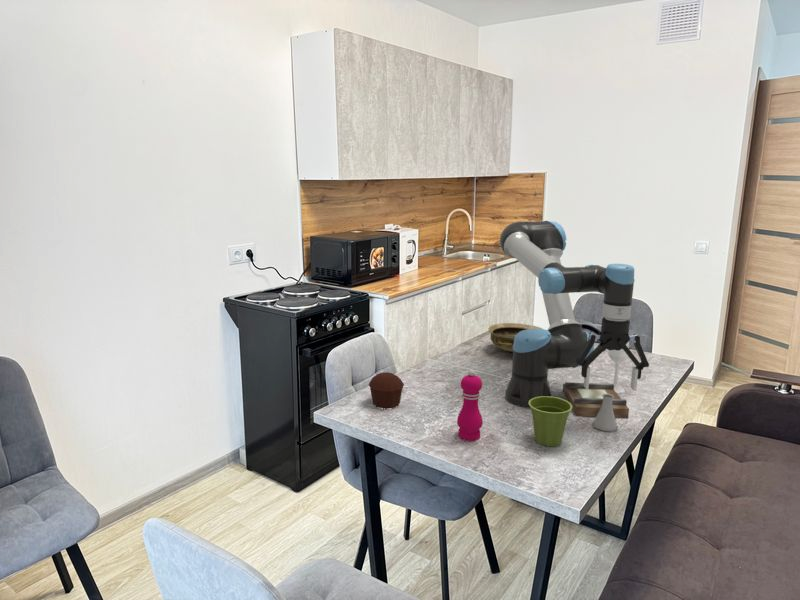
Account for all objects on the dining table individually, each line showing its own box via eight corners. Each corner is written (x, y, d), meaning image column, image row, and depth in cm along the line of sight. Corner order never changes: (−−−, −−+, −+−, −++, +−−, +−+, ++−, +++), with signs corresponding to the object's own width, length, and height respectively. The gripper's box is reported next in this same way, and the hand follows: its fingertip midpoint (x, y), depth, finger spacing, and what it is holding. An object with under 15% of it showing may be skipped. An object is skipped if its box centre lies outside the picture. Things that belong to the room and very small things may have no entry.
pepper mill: (451, 435, 161) (453, 369, 156) (467, 428, 166) (469, 364, 161) (471, 444, 156) (474, 376, 151) (486, 436, 161) (490, 370, 156)
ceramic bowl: (528, 368, 217) (530, 343, 215) (474, 356, 231) (475, 333, 229) (556, 349, 241) (557, 327, 239) (505, 339, 255) (506, 318, 253)
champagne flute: (606, 384, 201) (612, 320, 196) (626, 388, 198) (633, 322, 193) (603, 390, 196) (609, 324, 190) (623, 394, 193) (630, 327, 187)
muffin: (411, 404, 182) (411, 375, 180) (385, 413, 175) (385, 383, 173) (386, 393, 191) (387, 365, 189) (361, 402, 184) (361, 373, 181)
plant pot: (544, 428, 166) (546, 392, 164) (578, 443, 157) (581, 406, 155) (517, 438, 160) (519, 401, 157) (550, 455, 150) (553, 416, 148)
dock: (575, 415, 175) (576, 402, 174) (562, 391, 194) (563, 379, 193) (628, 418, 174) (629, 404, 173) (609, 393, 193) (610, 381, 192)
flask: (590, 429, 166) (593, 397, 164) (594, 419, 172) (597, 389, 170) (616, 434, 163) (619, 402, 161) (619, 424, 169) (622, 393, 167)
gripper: (574, 320, 157) (569, 391, 162) (666, 322, 156) (658, 394, 160) (568, 314, 165) (563, 382, 169) (655, 316, 163) (648, 385, 167)
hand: (609, 388), depth 165 cm, fingers open, 13 cm apart
